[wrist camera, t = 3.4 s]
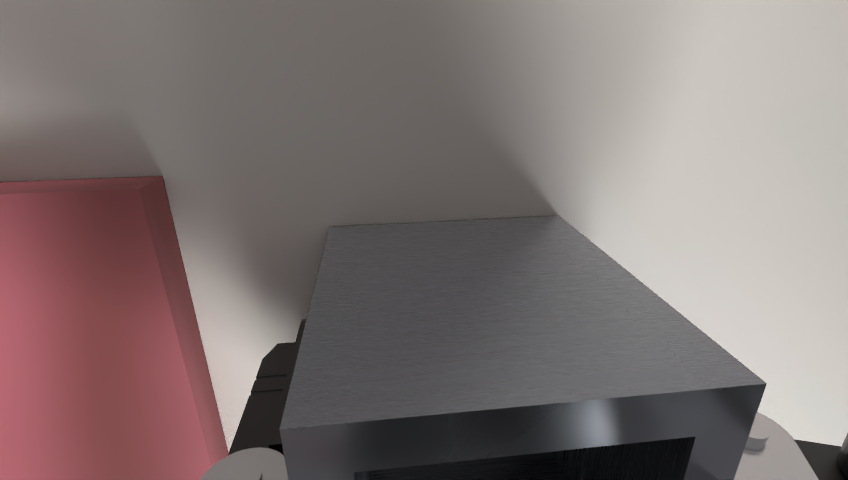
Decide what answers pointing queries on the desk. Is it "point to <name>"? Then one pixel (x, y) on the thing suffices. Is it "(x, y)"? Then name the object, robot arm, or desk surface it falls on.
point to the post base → (99, 337)
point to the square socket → (504, 363)
